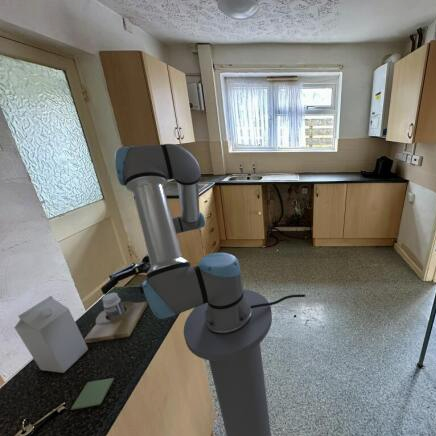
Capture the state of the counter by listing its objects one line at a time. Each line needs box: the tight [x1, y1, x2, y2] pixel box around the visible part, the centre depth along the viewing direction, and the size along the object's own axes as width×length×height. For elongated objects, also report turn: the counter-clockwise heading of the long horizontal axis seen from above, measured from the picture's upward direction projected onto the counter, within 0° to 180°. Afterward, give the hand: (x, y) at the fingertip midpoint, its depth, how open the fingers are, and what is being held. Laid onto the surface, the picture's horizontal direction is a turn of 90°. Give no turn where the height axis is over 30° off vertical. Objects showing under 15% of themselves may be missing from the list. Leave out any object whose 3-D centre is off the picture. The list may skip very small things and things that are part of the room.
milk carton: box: [14, 295, 89, 374], centre depth 62 cm, size 7×7×19 cm
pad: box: [70, 377, 115, 411], centre depth 56 cm, size 6×6×1 cm
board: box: [83, 300, 149, 344], centre depth 78 cm, size 14×16×2 cm
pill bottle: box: [102, 292, 126, 320], centre depth 78 cm, size 5×5×8 cm
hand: (122, 291), depth 82 cm, fingers open, 13 cm apart
